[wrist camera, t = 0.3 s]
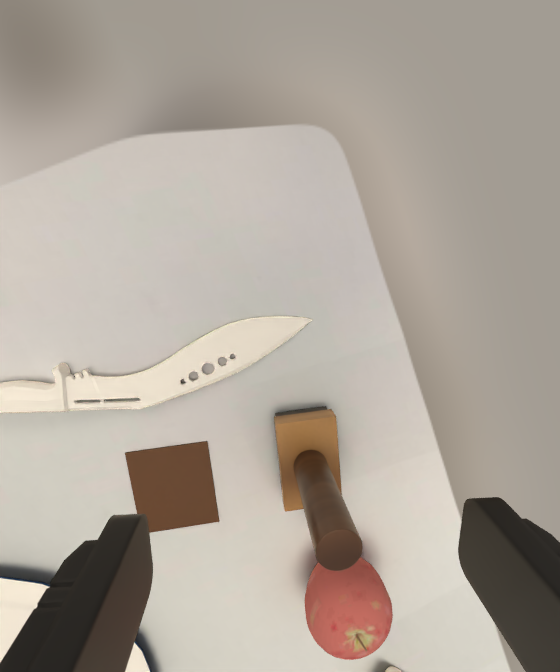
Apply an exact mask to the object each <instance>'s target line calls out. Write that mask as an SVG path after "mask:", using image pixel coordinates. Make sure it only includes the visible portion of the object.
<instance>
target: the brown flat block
mask: <svg viewBox="0 0 560 672" xmlns="http://www.w3.org/2000/svg"><path fill="white" fill-rule="evenodd" d="M125 455H126V460H127V465H128V470H129V475H130V480H131V485H132V490H133V495H134V500H135V505H136V510H137V514H145V515H146V516H147V519H148V527H149V532H156V531H162V530H168V529H175V528H181V527H187V526H194V525H200V524H207V523H213V522H219V517H218V510H217V504H216V497H215V490H214V484H213V477H212V470H211V464H210V457H209V450H208V444H207V441H206V442H199V443H191V444H184V445H177V446H170V447H163V448H155V449H148V450H141V451H134V452H127V453H125Z"/></svg>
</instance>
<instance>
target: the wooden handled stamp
mask: <svg viewBox="0 0 560 672" xmlns="http://www.w3.org/2000/svg"><path fill="white" fill-rule="evenodd" d="M275 416H276V417H274V423H275V432H276V441H277V451H278V460H279V469H280V478H281V487H282V497H283V504H284V509H285V511H292V510H298V509H304V512H305V516H306V519H307V523H308V527H309V531H310V535H311V539H312V543H313V547H314V551H315V555H316V558H317V560H318V562H319V563H320V564H321V566H323V567H324V568H326V569H328V570H332V571H341V570H345V569H347V568H349V567H351V566H353V565H354V564H355V563H356V562H357V561H358V559H359V558H360V556H361V553H362V541H361V539H360V537H359V534H358V532H357V530H356V527H355V525H354V523H353V520H352V518H351V516H350V514H349V511H348V509H347V507H346V504H345V502H344V500H343V497H342V493H341V479H340V465H339V451H338V437H337V423H336V416H335V414H334V412H333V411H332V409H327V407H326V406H325V407H317V408H310V409H302V410H295V411H287V412H280V413H276V414H275Z"/></svg>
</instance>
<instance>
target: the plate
mask: <svg viewBox="0 0 560 672" xmlns="http://www.w3.org/2000/svg"><path fill="white" fill-rule="evenodd" d="M49 587H50V585H49V584H46V583H43V582H37V581H30V580H23V579H16V578H9V577H2V576H0V662H1V661H2V659H3V658H4V656H5V654H6V653H7V651H8V650H9V648H10V646H11V645H12V643H13V642H14V640H15V638H16V637H17V635H18V634H19V632H20V630H21V629H22V627H23V626H24V624H25V622H26V621H27V619H28V618H29V616H30V614H31V613H32V611H33V610H34V609H36V608H37V603H38V602H39V600H40V598H41V597H42V595H43V594H44V592H45V590H46V589H47V588H49ZM125 672H151V669H150V667H149V664H148V662H147V659H146V657H145V655H144V652H143V650H142V648H141V647H140V646H139V645H138V643H137V642H136V641H135V642H134V645H133V648H132V651H131V655H130V658H129V661H128V664H127V667H126V670H125Z"/></svg>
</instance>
